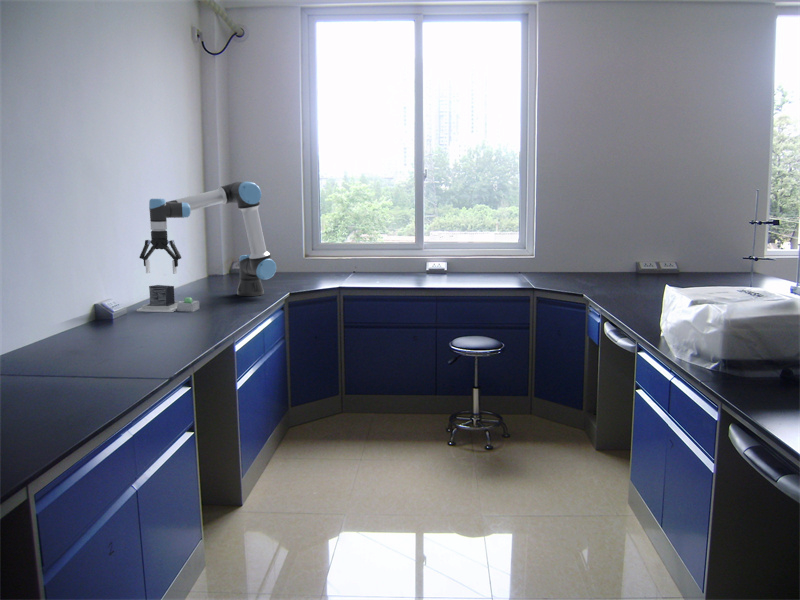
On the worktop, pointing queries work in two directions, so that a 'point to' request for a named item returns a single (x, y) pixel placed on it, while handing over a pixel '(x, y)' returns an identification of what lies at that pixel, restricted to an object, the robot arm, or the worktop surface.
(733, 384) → the worktop surface
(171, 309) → the plate
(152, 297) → the small box
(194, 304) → the console
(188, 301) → the button
